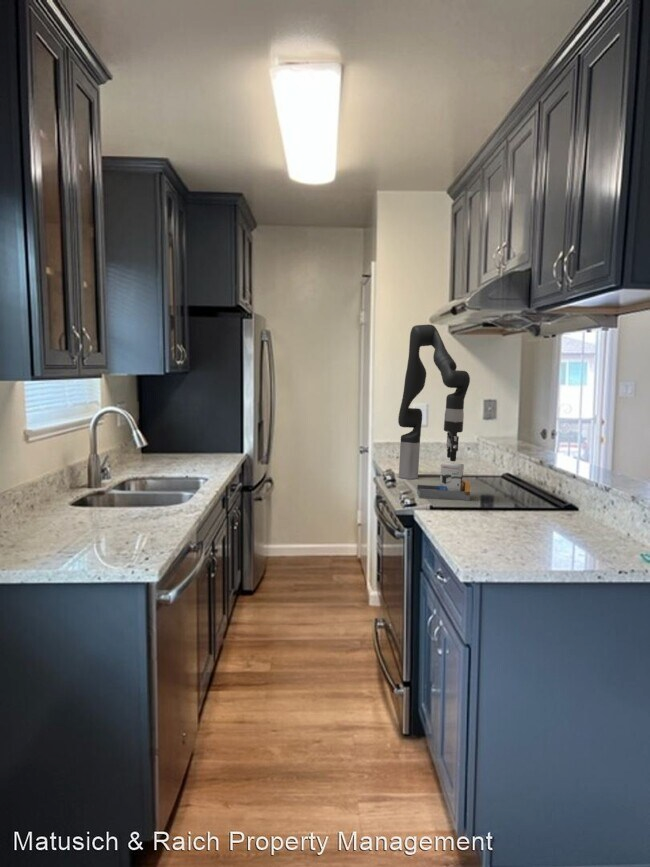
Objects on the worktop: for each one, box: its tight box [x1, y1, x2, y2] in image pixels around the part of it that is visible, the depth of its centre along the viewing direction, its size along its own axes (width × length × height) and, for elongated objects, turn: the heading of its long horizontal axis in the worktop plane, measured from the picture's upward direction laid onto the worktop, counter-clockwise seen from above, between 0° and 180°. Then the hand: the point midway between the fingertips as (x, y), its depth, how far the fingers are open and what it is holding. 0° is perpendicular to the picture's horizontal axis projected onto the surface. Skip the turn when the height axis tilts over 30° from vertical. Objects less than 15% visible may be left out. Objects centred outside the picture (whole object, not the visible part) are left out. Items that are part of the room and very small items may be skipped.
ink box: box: [439, 462, 465, 491], centre depth 244 cm, size 8×5×12 cm, turn 65°
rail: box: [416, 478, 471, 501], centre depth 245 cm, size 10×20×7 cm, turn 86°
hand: (451, 459), depth 244 cm, fingers open, 8 cm apart
